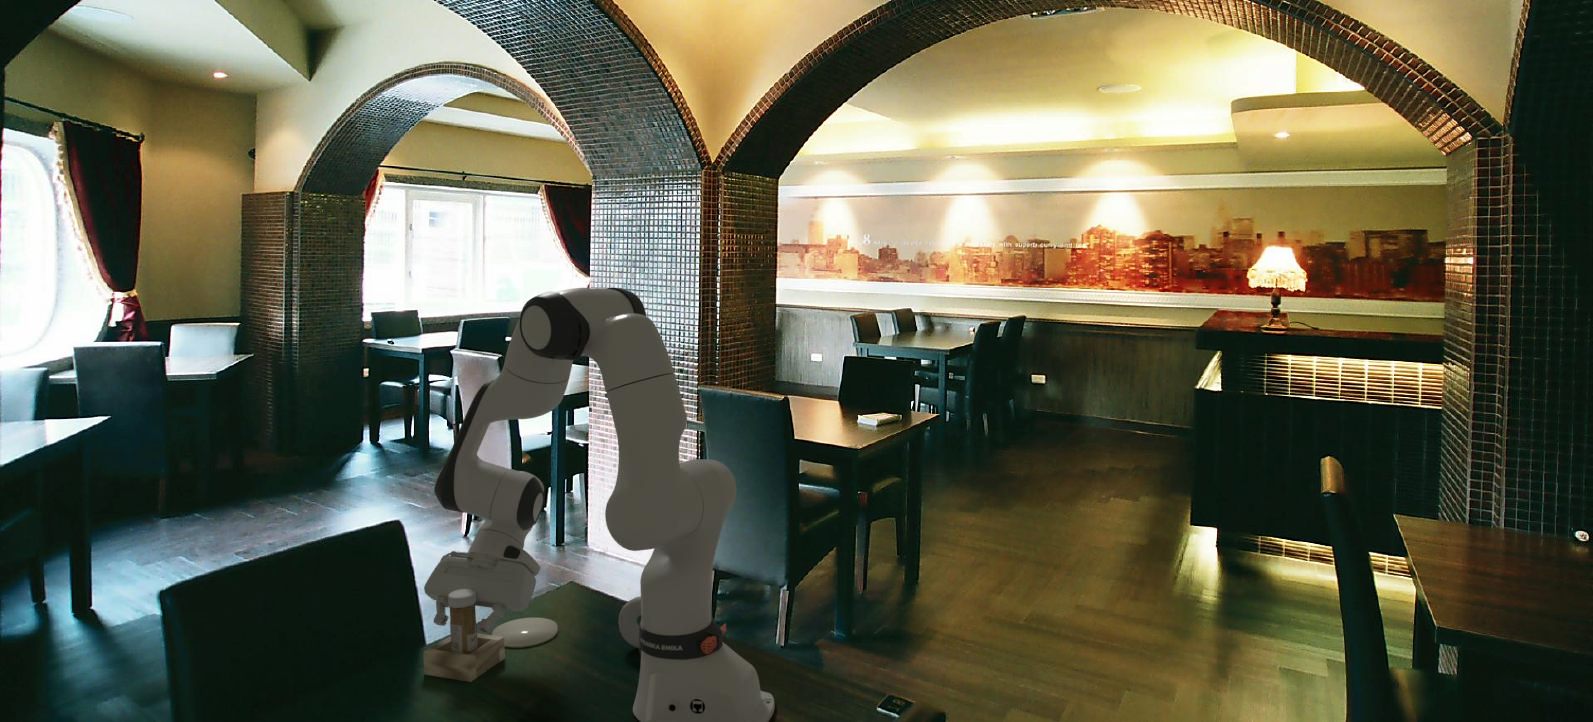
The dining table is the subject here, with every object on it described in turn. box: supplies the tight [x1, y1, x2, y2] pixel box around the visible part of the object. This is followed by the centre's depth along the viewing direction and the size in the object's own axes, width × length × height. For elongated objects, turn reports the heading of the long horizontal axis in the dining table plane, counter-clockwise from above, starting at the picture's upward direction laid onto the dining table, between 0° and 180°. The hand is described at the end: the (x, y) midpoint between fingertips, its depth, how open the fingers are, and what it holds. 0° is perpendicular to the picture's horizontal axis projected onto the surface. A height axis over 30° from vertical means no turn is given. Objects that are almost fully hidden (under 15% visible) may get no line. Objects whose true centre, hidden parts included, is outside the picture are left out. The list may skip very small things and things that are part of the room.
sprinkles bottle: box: [448, 589, 478, 655], centre depth 160 cm, size 5×5×14 cm
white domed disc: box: [491, 617, 559, 648], centre depth 174 cm, size 12×12×1 cm
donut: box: [617, 595, 641, 649], centre depth 167 cm, size 10×3×10 cm, turn 82°
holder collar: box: [422, 632, 506, 683], centre depth 160 cm, size 10×10×4 cm
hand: (461, 627), depth 159 cm, fingers open, 8 cm apart
